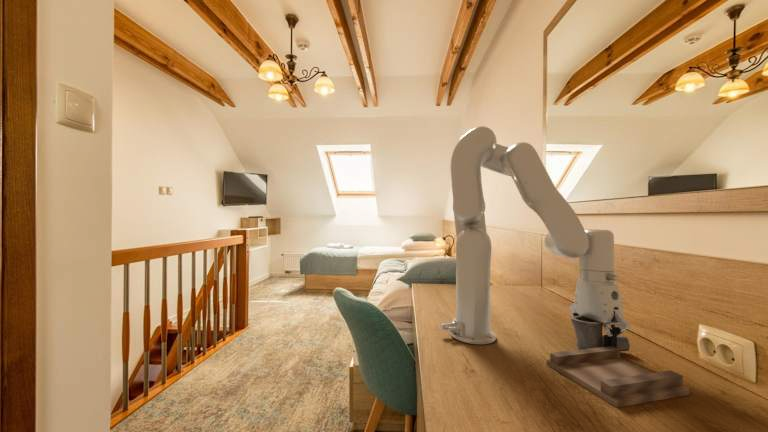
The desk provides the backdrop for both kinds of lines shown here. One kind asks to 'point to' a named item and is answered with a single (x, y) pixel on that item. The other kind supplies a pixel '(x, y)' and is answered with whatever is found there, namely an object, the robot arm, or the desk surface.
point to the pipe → (593, 334)
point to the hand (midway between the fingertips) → (596, 344)
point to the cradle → (616, 376)
